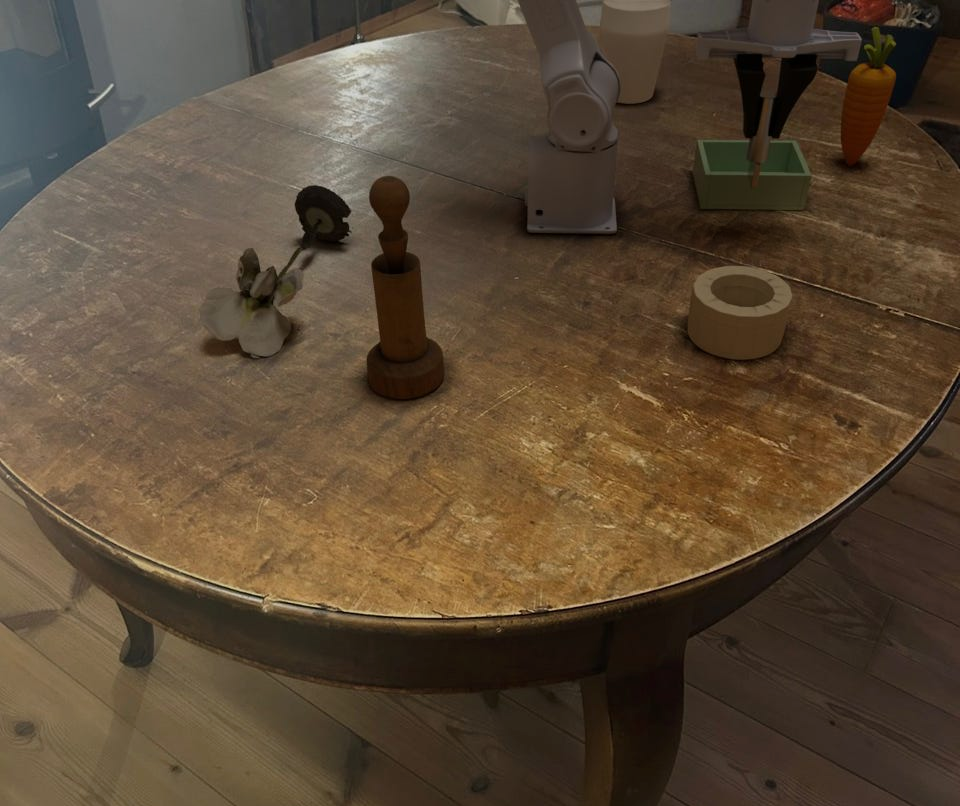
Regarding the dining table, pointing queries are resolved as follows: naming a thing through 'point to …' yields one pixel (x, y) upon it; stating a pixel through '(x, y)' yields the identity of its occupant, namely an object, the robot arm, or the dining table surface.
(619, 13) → the cup
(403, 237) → the mortar and pestle
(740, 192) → the bin
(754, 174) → the metallic cylinder
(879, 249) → the dining table surface
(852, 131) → the carrot
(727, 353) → the beige round bowl
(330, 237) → the artificial flower
